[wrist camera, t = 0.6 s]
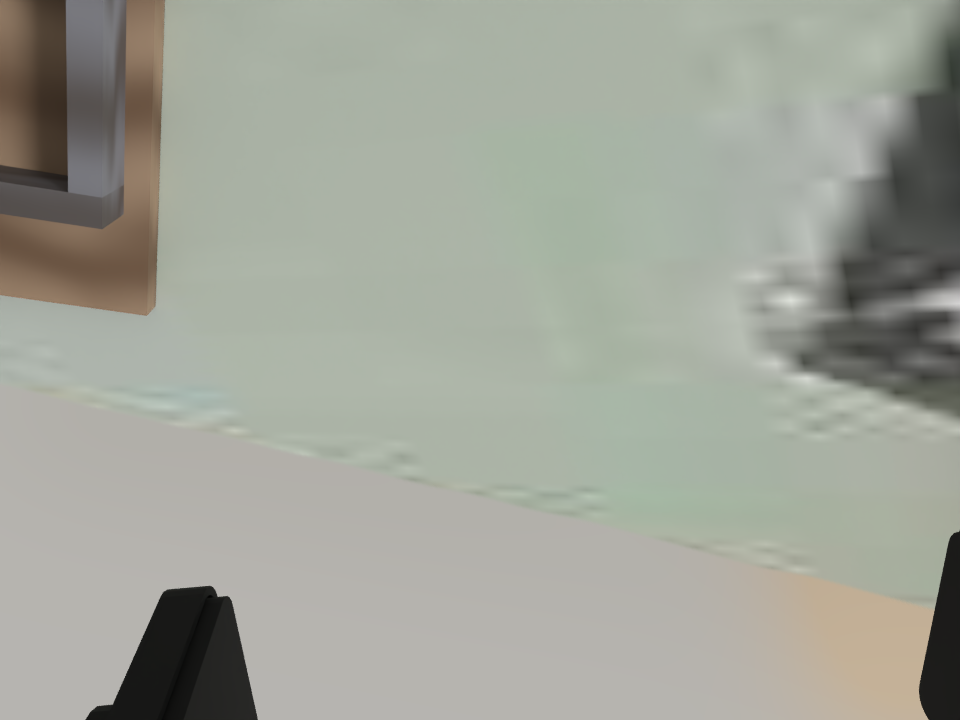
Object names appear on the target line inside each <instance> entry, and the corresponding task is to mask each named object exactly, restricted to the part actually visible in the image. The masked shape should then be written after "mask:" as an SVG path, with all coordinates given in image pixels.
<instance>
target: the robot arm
mask: <svg viewBox="0 0 960 720" xmlns="http://www.w3.org/2000/svg"><path fill="white" fill-rule="evenodd" d="M919 695H920V701H921V705H922V707H923V710H924V712H925V714H926V716H927V717H928V719H929V720H960V531H959V532H956V533H954V534H953V535H952V536H951V537H950V540H949V543H948V548H947V553H946V558H945V562H944V567H943V572H942V577H941V582H940V587H939V592H938V597H937V602H936V606H935V611H934V616H933V622H932V626H931V631H930V636H929V641H928V646H927V651H926V655H925V660H924V665H923V670H922V675H921V680H920V686H919ZM86 720H258V719H257V714H256V709H255V705H254V700H253V696H252V691H251V687H250V682H249V677H248V673H247V668H246V664H245V660H244V655H243V650H242V645H241V641H240V636H239V632H238V627H237V623H236V618H235V614H234V609H233V605H232V601H231V599H230V598H229V597H228V596H223V597H217V594H216V591H215V589H214V588H213V587H212V586H203V587H192V588H180V589H169V590H166V591H164V592H163V594H162V596H161V597H160V599H159V602H158V604H157V606H156V609H155V611H154V613H153V615H152V617H151V620H150V622H149V624H148V626H147V629H146V631H145V633H144V635H143V638H142V640H141V642H140V644H139V647H138V649H137V651H136V654H135V656H134V658H133V660H132V663H131V665H130V667H129V669H128V671H127V674H126V676H125V678H124V681H123V683H122V685H121V687H120V690H119V692H118V694H117V696H116V699H115V701H114V703H113V705H104V706H97V707H96V708H95V709H94V710H92V711H91V712H90V713H89V715H88V717H87V718H86Z"/></svg>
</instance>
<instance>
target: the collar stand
mask: <svg viewBox="0 0 960 720" xmlns="http://www.w3.org/2000/svg"><path fill="white" fill-rule="evenodd" d="M164 7H165V0H0V295H4V296H11V297H18V298H25V299H32V300H39V301H46V302H53V303H61V304H68V305H75V306H82V307H89V308H96V309H103V310H110V311H117V312H124V313H132V314H139V315H146V316H147V315H148V314H149V313H150V312H151V311H152V309H153V308H154V307H155V303H156V270H157V238H158V205H159V172H160V139H161V106H162V73H163V40H164Z"/></svg>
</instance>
